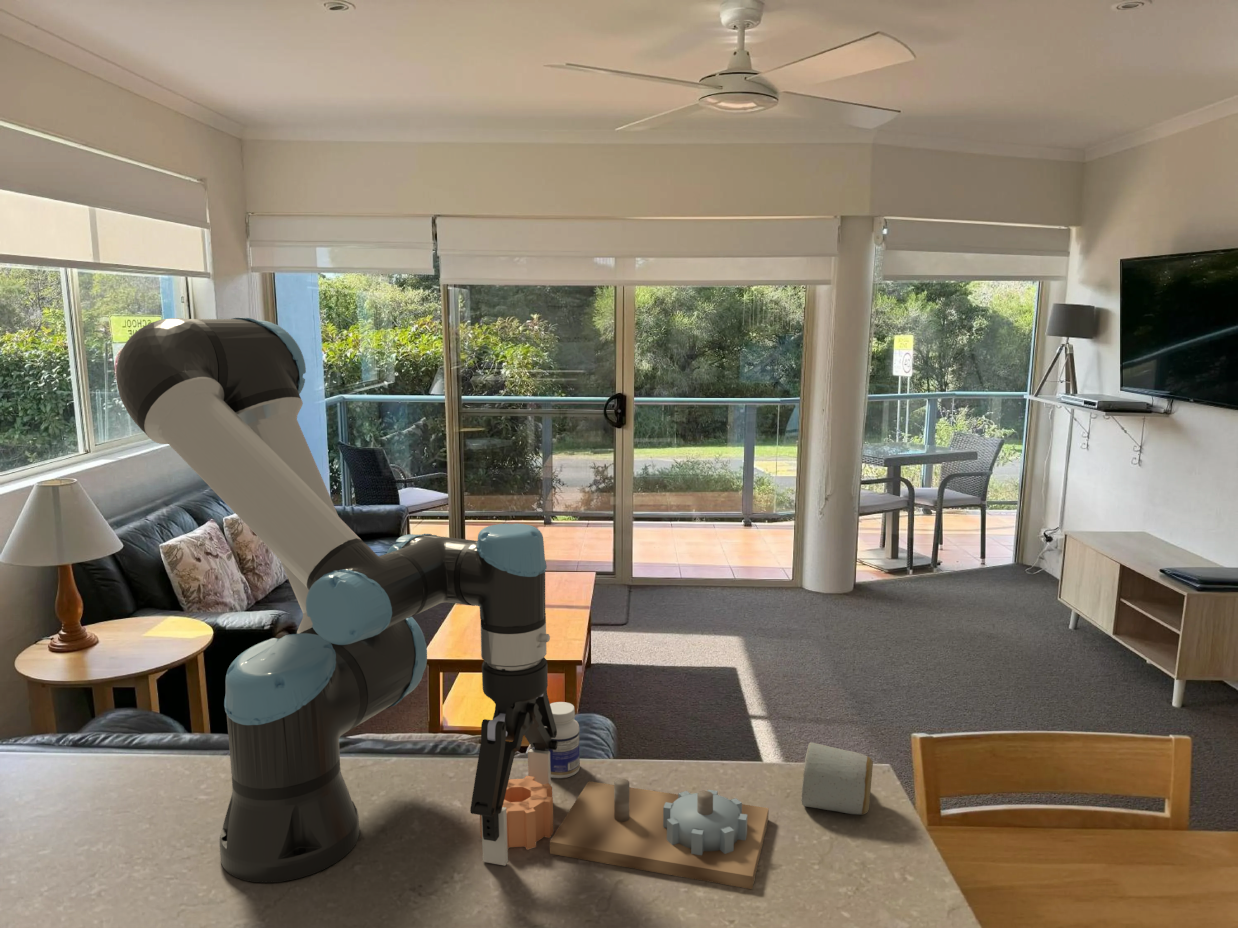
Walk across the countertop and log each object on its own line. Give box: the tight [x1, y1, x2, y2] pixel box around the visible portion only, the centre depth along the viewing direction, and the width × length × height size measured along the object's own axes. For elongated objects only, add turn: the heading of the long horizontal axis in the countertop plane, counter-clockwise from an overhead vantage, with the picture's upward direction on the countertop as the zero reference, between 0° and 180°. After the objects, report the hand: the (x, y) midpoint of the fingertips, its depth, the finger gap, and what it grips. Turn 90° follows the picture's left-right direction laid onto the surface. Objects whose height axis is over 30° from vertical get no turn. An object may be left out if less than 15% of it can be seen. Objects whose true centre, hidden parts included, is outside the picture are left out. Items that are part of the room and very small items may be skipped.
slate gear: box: [663, 789, 747, 855], centre depth 102 cm, size 10×10×2 cm
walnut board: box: [549, 778, 770, 890], centre depth 104 cm, size 23×14×6 cm, turn 74°
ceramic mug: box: [800, 742, 874, 815], centre depth 111 cm, size 11×8×8 cm
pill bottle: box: [548, 701, 581, 779], centre depth 119 cm, size 5×5×9 cm
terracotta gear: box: [479, 775, 554, 850], centre depth 105 cm, size 9×9×4 cm
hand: (519, 829), depth 105 cm, fingers open, 13 cm apart
